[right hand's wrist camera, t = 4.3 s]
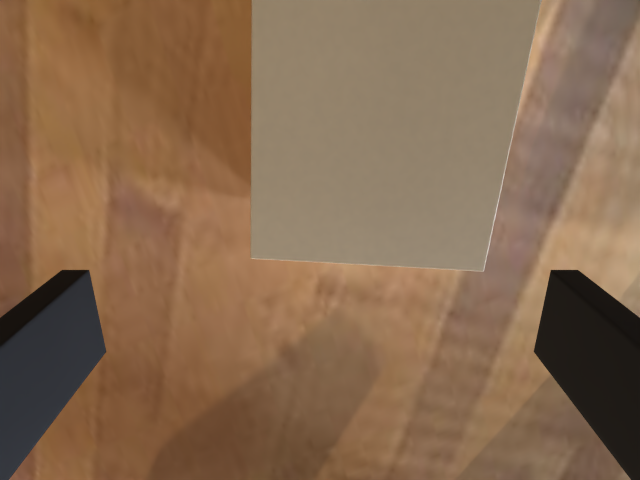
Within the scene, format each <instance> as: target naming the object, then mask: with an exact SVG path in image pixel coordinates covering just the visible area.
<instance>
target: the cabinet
mask: <svg viewBox="0 0 640 480" xmlns="http://www.w3.org/2000/svg"><path fill="white" fill-rule="evenodd" d="M540 5H541V0H252V53H251V258H252V259H269V260H287V261H305V262H323V263H341V264H359V265H377V266H395V267H413V268H431V269H449V270H467V271H484V267H485V263H486V258H487V253H488V249H489V244H490V239H491V234H492V230H493V225H494V220H495V216H496V211H497V206H498V202H499V197H500V192H501V188H502V183H503V178H504V174H505V169H506V164H507V160H508V155H509V150H510V145H511V141H512V136H513V131H514V127H515V122H516V117H517V113H518V108H519V103H520V99H521V94H522V89H523V85H524V80H525V75H526V71H527V66H528V61H529V56H530V52H531V47H532V42H533V38H534V33H535V28H536V24H537V19H538V14H539V10H540Z"/></svg>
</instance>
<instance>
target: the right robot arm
mask: <svg viewBox="0 0 640 480" xmlns="http://www.w3.org/2000/svg"><path fill="white" fill-rule="evenodd" d="M105 352H106V348H105V344H104V339H103V334H102V329H101V325H100V320H99V315H98V310H97V306H96V301H95V296H94V291H93V287H92V282H91V277H90V272H89V270H62V271H60V272H59V273H58V274H56V275H55V276H54V277H52V278H51V279H50V280H49V281H47V282H46V283H45V284H43V285H42V286H41V287H40V288H38V289H37V290H36V291H34V292H33V293H32V294H31V295H29V296H28V297H27V298H25V299H24V300H23V301H21V302H20V303H19V304H18V305H16V306H15V307H14V308H12V309H11V310H10V311H9V312H7V313H6V314H5V315H3V316H2V317H1V318H0V480H9V479H10V477H11V476H12V475H13V473H14V472H15V471H16V470H17V468H18V467H19V466H20V464H21V463H22V462H23V460H24V459H25V458H26V456H27V455H28V454H29V452H30V451H31V450H32V449H33V447H34V446H35V445H36V443H37V442H38V441H39V439H40V438H41V437H42V435H43V434H44V433H45V431H46V430H47V429H48V427H49V426H50V425H51V424H52V422H53V421H54V420H55V418H56V417H57V416H58V414H59V413H60V412H61V410H62V409H63V408H64V406H65V405H66V404H67V402H68V401H69V400H70V399H71V397H72V396H73V395H74V393H75V392H76V391H77V389H78V388H79V387H80V385H81V384H82V383H83V381H84V380H85V379H86V377H87V376H88V375H89V374H90V372H91V371H92V370H93V368H94V367H95V366H96V364H97V363H98V362H99V360H100V359H101V358H102V356H103V355H104V354H105ZM534 352H535V354H536V355H537V356H538V358H539V359H540V360H541V362H542V363H543V364H544V366H545V367H546V368H547V370H548V371H549V372H550V374H551V375H552V376H553V377H554V379H555V380H556V381H557V383H558V384H559V385H560V387H561V388H562V389H563V391H564V392H565V393H566V395H567V396H568V397H569V399H570V400H571V401H572V402H573V404H574V405H575V406H576V408H577V409H578V410H579V412H580V413H581V414H582V416H583V417H584V418H585V420H586V421H587V422H588V424H589V425H590V426H591V427H592V429H593V430H594V431H595V433H596V434H597V435H598V437H599V438H600V439H601V441H602V442H603V443H604V445H605V446H606V447H607V449H608V450H609V451H610V452H611V454H612V455H613V456H614V458H615V459H616V460H617V462H618V463H619V464H620V466H621V467H622V468H623V470H624V471H625V472H626V473H627V475H628V476H629V477H630V479H631V480H640V318H639V317H638V316H637V315H635V314H634V313H633V312H631V311H630V310H629V309H628V308H626V307H625V306H624V305H622V304H621V303H620V302H619V301H617V300H616V299H615V298H613V297H612V296H611V295H609V294H608V293H607V292H606V291H604V290H603V289H602V288H600V287H599V286H598V285H597V284H595V283H594V282H593V281H591V280H590V279H589V278H588V277H586V276H585V275H584V274H582V273H581V272H580V271H578V270H551V272H550V277H549V282H548V287H547V291H546V296H545V301H544V306H543V310H542V315H541V320H540V325H539V329H538V334H537V339H536V344H535V348H534Z"/></svg>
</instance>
